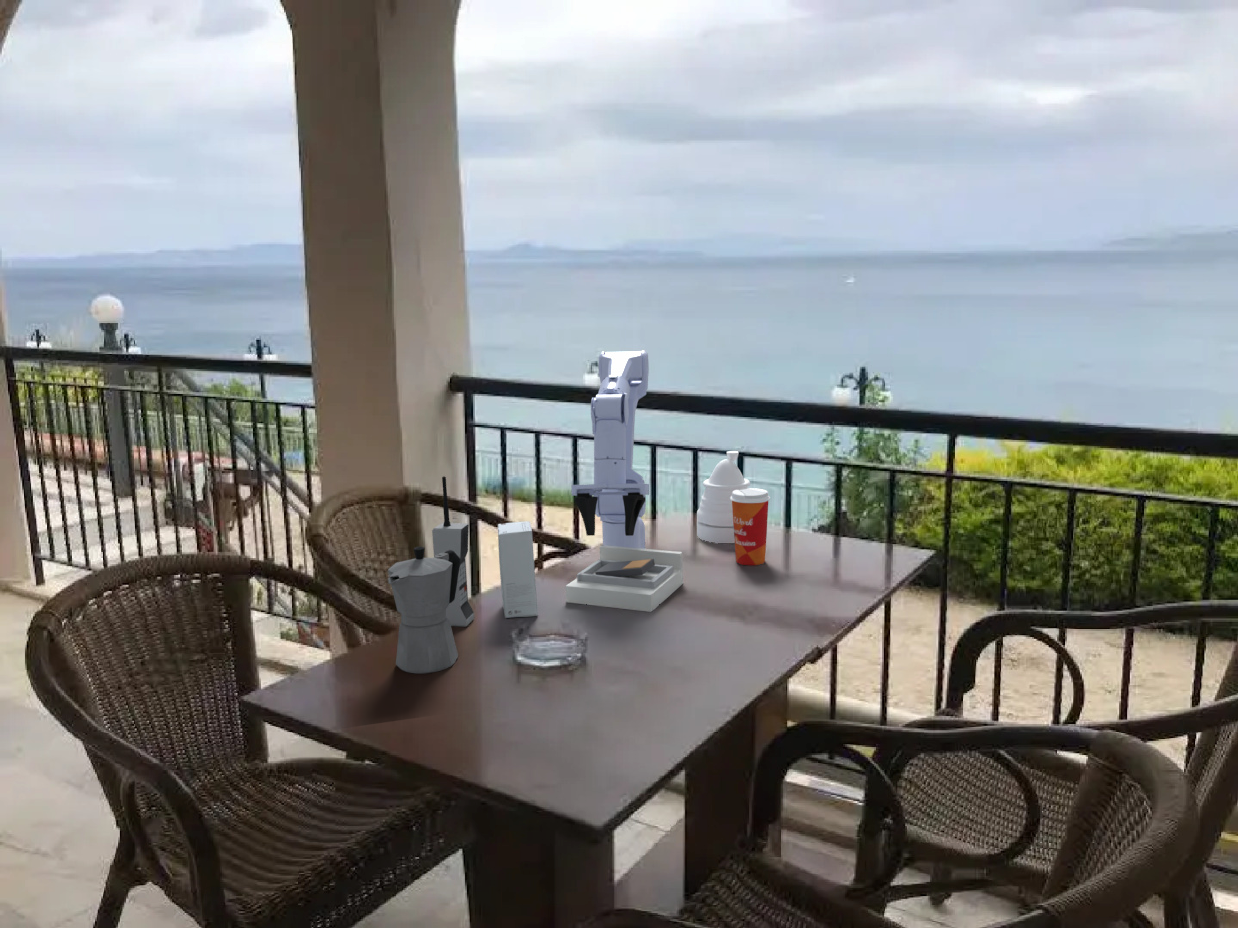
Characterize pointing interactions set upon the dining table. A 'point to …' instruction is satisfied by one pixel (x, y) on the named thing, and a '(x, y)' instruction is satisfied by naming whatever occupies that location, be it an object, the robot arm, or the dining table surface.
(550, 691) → the dining table surface
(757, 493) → the paper cup
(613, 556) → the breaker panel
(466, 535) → the vintage mobile phone
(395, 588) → the coffeepot
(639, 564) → the block
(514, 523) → the skincare box
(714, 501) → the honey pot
